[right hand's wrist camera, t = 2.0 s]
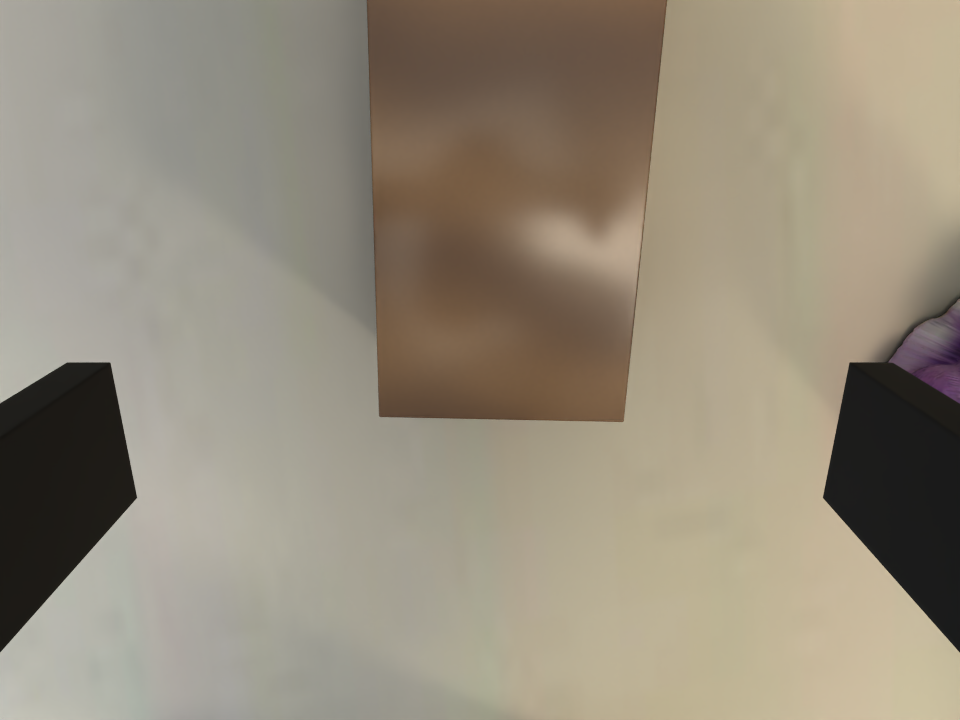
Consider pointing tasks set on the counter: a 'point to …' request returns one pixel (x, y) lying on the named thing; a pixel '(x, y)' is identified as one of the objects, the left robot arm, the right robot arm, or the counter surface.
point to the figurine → (934, 352)
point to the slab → (509, 202)
